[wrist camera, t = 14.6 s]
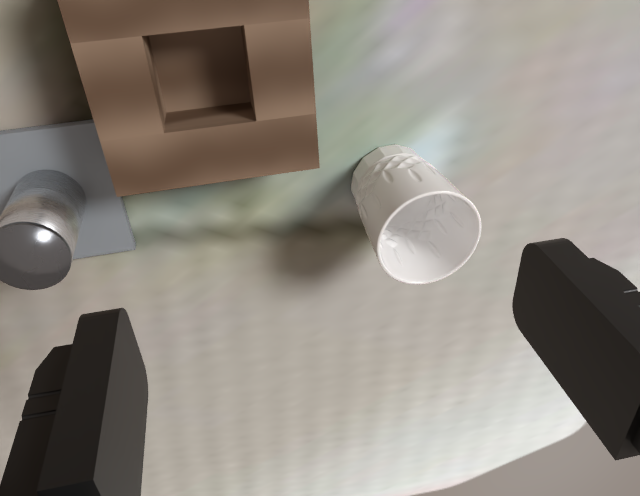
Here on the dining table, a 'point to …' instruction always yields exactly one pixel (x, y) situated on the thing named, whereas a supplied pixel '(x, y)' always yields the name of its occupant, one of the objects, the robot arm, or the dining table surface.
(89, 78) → the housing
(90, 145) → the mat
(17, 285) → the shiny metal cylinder
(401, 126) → the dining table surface
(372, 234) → the white cup
